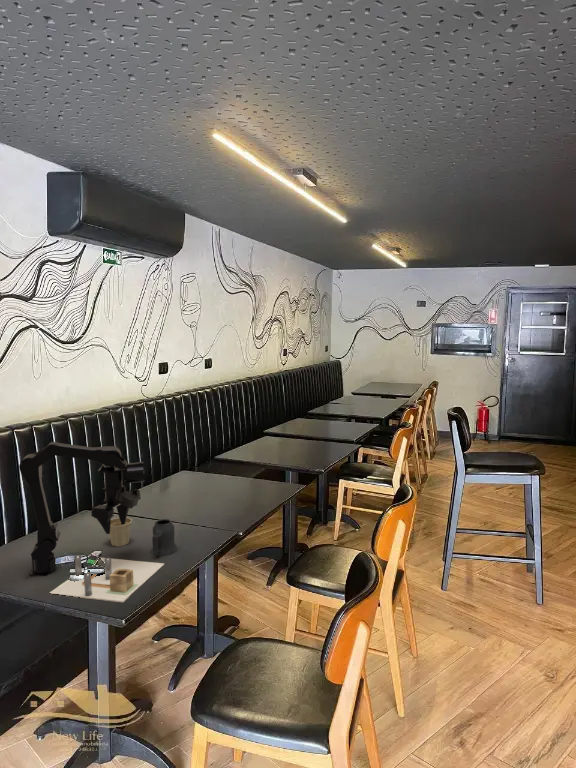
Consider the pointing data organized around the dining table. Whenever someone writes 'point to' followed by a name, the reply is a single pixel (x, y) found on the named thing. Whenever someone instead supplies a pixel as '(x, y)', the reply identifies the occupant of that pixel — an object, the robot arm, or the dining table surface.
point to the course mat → (99, 593)
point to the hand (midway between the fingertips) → (115, 529)
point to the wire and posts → (88, 576)
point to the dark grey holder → (163, 538)
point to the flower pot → (119, 532)
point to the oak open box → (121, 580)
